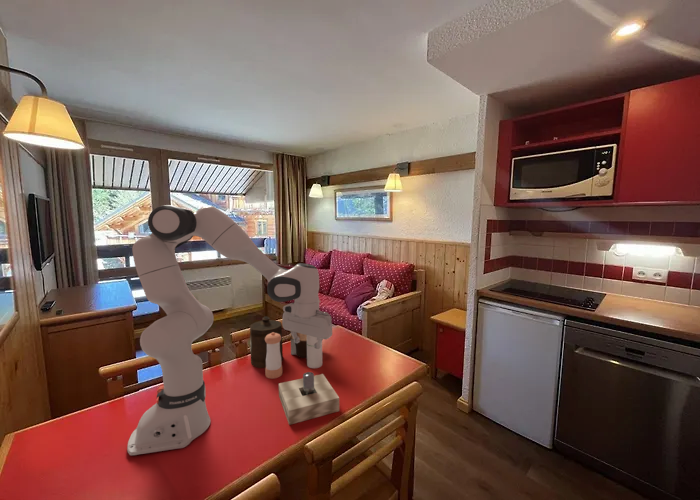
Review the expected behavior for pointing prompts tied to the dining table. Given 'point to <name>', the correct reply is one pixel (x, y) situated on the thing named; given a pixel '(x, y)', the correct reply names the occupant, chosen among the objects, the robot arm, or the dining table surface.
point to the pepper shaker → (273, 356)
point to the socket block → (307, 400)
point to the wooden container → (263, 340)
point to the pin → (308, 383)
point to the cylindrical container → (313, 353)
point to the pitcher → (301, 345)
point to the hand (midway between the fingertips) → (306, 345)
